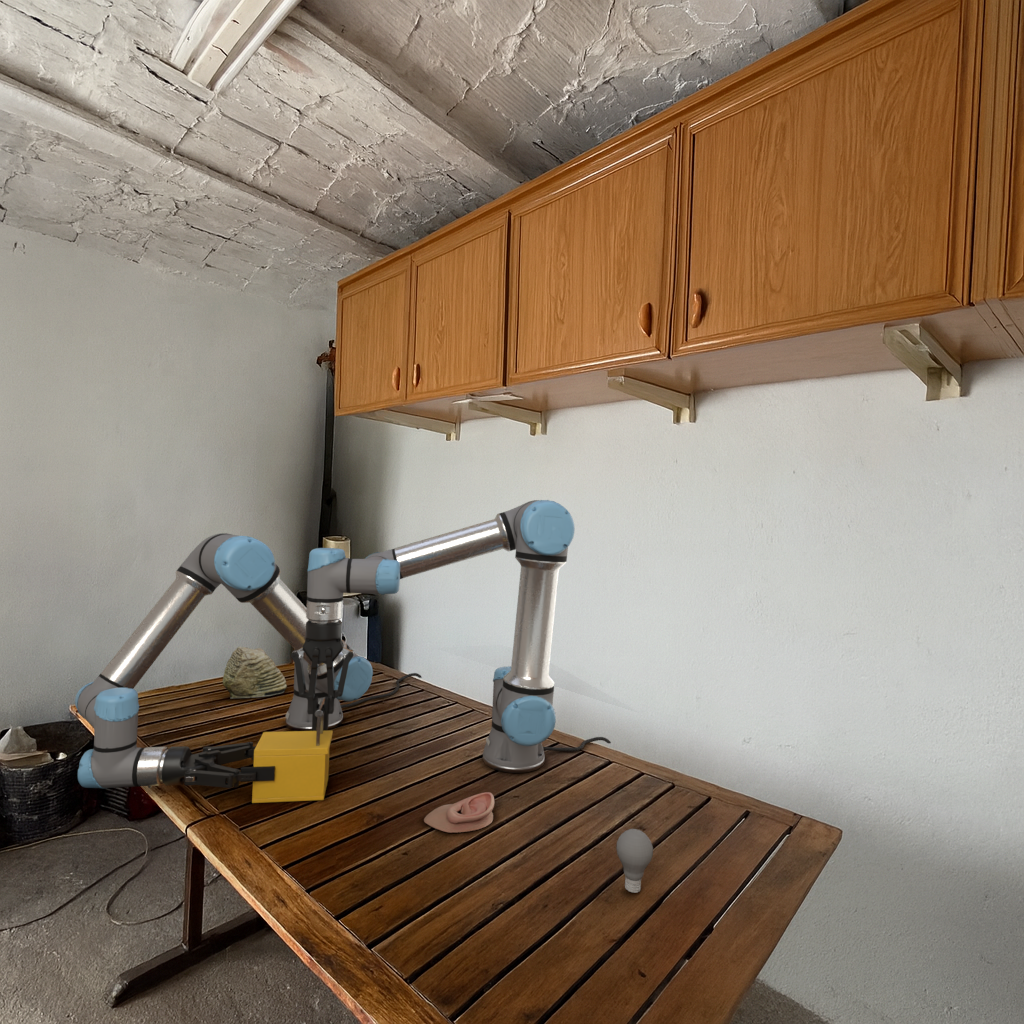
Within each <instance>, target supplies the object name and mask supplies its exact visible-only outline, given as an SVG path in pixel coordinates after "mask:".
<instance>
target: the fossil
mask: <svg viewBox="0 0 1024 1024" xmlns="http://www.w3.org/2000/svg"><path fill="white" fill-rule="evenodd" d="M222 676H223V677H222V685H223V687H224V688H225V690H226V691H228V693H229V698H230V699H250V698H264V697H271V696H275V695H281V694H284V693H285V691H286V689H287V687H288V686H287V680H286V678H285V676H284V674H283V673H282V672H281V669H279V668H278V667H277V665H276V663H275V662H274V660H273V659H272V658H271V657H270V656H269V655H268V654H267V653H266V652H265V650H264V649H263V648H260V647H258V648H251V647H247V646H246V647H245V646H238V647H237V648H236V649H235V650H233V651H232V653H231V656H230V657H229V659H228V660H227V663H226V666H225V668H224V671H223V675H222Z"/></svg>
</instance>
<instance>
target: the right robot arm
mask: <svg viewBox="0 0 1024 1024" xmlns="http://www.w3.org/2000/svg"><path fill="white" fill-rule="evenodd" d="M574 536H575V521H574V519H573V516H572V514H571V513H570V511H569V510H568V509H567V508H566V507H565V506H563V505H562V504H560V503H559V502H556V501H554V500H550V499H538V500H537V499H536V500H535V499H534V500H530V501H527V502H525V503H523V504H521V505H518V506H516V507H514V508H511V509H509V510H508V509H507V510H505V511H503V512H502V511H501V512H500V513H497V514H496V515H495V517H494V518H493V519H491V520H486V521H483V522H480V523H476V524H473V525H469V526H466V527H462V528H459V529H455V530H453V531H449V532H445V533H442V534H439V535H435V536H431V537H428V538H425V539H422V540H418V541H415V542H411V543H408V544H404V545H401V546H397V547H394V548H391V549H387V550H384V551H377V552H373V553H370V554H368V556H366V557H365V558H349V557H346V556H347V555H346V552H345V550H344V549H343V548H337V547H336V548H335V547H316V548H313V549H311V551H310V552H309V555H308V557H309V558H308V567H307V585H306V587H307V589H306V590H307V591H306V608H307V610H306V618H307V619H309V620H308V621H307V622H306V635H305V643H304V644H303V647H302V648H300V649H298V650H295V649H294V650H293V651H292V652H291V654H290V657H291V659H292V661H293V663H294V668H296V675H297V683H298V691H299V696H300V697H304V698H306V699H307V700H308V708H307V712H308V714H313V716H312V731H316V728H317V717H316V716H315V712H316V709H317V706H318V697H314V696H315V689H316V681H317V673H318V665H319V664H320V663H324V664H326V668H327V685H328V697H325V701H324V727H323V731H328V730H327V729H328V718H329V714H333V712H334V699H335V698H336V697H341V696H342V694H343V690H344V685H345V680H346V675H347V670H348V666H349V662H350V660H351V659H352V657H353V655H354V653H355V650H353V649H352V650H349V649H347V648H345V647H344V644H343V642H342V640H343V639H342V638H343V621H342V620H341V619H343V614H344V613H343V612H344V594H366V595H367V594H370V595H382V596H384V595H394V594H397V593H398V592H399V591H400V584H401V583H400V582H401V580H403V579H405V578H409V577H412V576H415V575H419V574H422V573H426V572H429V571H432V570H435V569H439V568H443V567H446V566H450V565H454V564H457V563H460V562H464V561H468V560H470V559H473V558H477V557H480V556H484V555H488V554H492V553H494V552H497V551H500V550H501V551H502V550H505V551H507V552H509V553H510V552H512V551H515V555H514V559H515V560H516V561H517V562H518V564H520V572H519V574H520V575H519V583H518V584H519V585H518V593H517V603H516V604H517V605H516V614H515V623H514V634H513V645H512V655H511V665H510V666H509V665H508V666H501V667H498V668H496V669H495V670H494V673H493V679H492V682H493V686H492V687H493V689H492V707H491V708H492V709H491V729H490V732H489V734H488V736H486V738H485V745H484V748H483V752H482V762H483V763H484V764H485V765H486V766H487V767H489V768H490V769H493V770H495V771H498V772H503V773H510V774H511V773H512V774H522V773H529V772H535V771H537V770H539V769H540V768H542V767H543V766H544V764H545V760H546V759H545V758H546V757H545V756H546V755H545V751H551V752H579V751H581V750H583V749H584V747H585V745H587V744H589V743H593V742H597V741H603V742H604V743H606V744H612V742H611V741H610V740H609V738H606V737H603V736H595V737H592V738H588V739H585V740H583V741H582V742H581V744H580V745H579V746H576V747H555V746H543V742H545V741H546V740H547V739H549V737H551V735H552V734H553V731H554V730H555V727H556V722H557V718H556V717H557V716H556V711H555V708H554V705H553V704H554V694H555V681H554V679H553V678H552V677H551V676H550V665H551V654H552V645H553V644H552V643H553V634H554V625H555V624H554V623H555V613H556V603H557V592H558V584H559V574H560V573H559V572H560V569H561V568H563V567H564V565H566V564H567V560H568V553H569V552H568V551H569V546H570V545H571V543H572V541H573V539H574ZM304 652H305V653H306V655H307V656H308V658H309V659H310V660H311V662H312V665H311V675H310V683H309V691H308V690H306V684H305V676H304V668H303V661H302V658H303V656H304V655H303V653H304ZM341 652H342V653H343V655H342V658H343V659H344V662H343V666H342V671H341V676H340V681H339V686H338V689H337V690H335V687H334V660H335V659H336V658H337V656H338V655H339V654H340V653H341Z"/></svg>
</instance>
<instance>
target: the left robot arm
mask: <svg viewBox="0 0 1024 1024" xmlns="http://www.w3.org/2000/svg"><path fill="white" fill-rule="evenodd" d="M174 573H175V579H174V580H173V582H171V584H170V585H169V586H168V588H167V589H166V591H165V592H164V593H163V594H162V596H161V597H160V598H159V599H158V601H157V602H156V603H155V604H154V606H153V607H151V610H150V611H149V612H148V613H147V614H146V616H145V617H144V618H143V619H142V620H141V622H140V623H139V625H138V626H137V627H136V628H135V630H134V631H133V632H132V633H131V634H130V635H129V637H128V638H127V640H126V641H125V642H124V644H123V645H122V646H121V647H120V649H119V650H118V651H117V652H116V654H115V655H114V656H113V657H112V659H110V661H109V663H108V664H107V665H106V666H105V667H104V668H103V670H102V671H101V672H100V674H99V675H97V677H96V678H95V680H93V681H91V682H88V683H86V684H85V685H83V686H81V687H80V689H79V690H78V691H77V693H76V695H75V697H74V705H75V708H76V710H77V713H79V716H80V717H82V718H83V719H84V720H86V721H87V722H88V723H89V724H90V726H91V727H92V728H93V737H94V738H93V748H90V749H88V750H86V751H84V753H83V755H82V756H81V758H80V760H79V763H78V764H79V765H78V769H77V781H78V783H79V785H80V786H81V787H82V788H86V789H102V790H106V789H117V788H134V787H138V788H140V787H147V788H148V789H152V788H154V787H159V786H162V785H164V786H166V787H168V786H183V785H184V786H203V787H204V786H205V787H213V788H214V787H216V788H223V789H224V788H227V789H231V788H233V789H234V788H238V787H240V783H247V782H248V783H249V782H251V783H253V781H274V778H275V766H263V767H253V766H241V767H240V769H239V768H235V767H234V768H233V767H229V766H225V765H227V764H230V763H235V762H239V761H243V760H244V761H245V760H247V759H251V761H254V750H255V748H256V746H257V745H256V746H254V742H253V741H247V742H241V743H232V744H226V745H225V744H224V745H216V746H204V747H203V748H202V751H201V752H198V753H192V750H191V748H190V747H189V746H187V745H186V746H171V747H168V746H148V747H146V746H145V747H137V746H138V745H137V743H138V727H139V725H138V724H139V711H140V703H139V694H138V691H137V690H136V689H134V688H135V687H136V686H137V685H138V683H139V682H140V681H141V679H143V677H144V676H145V674H146V673H147V672H148V670H149V669H150V668H151V666H152V665H153V664H154V663H155V661H156V660H157V659H158V657H160V655H161V654H162V652H163V651H164V650H165V648H167V646H168V644H169V643H170V642H171V641H172V640H173V638H174V637H175V636H176V634H177V633H178V632H179V630H180V629H181V628H182V626H183V625H184V624H185V623H186V621H187V620H188V618H189V617H190V616H191V615H192V613H193V612H194V611H195V609H196V608H197V607H198V605H199V604H200V603H201V602H202V600H203V599H204V598H205V597H206V596H209V595H212V594H213V593H214V592H215V590H217V588H218V587H219V586H220V585H222V586H223V587H224V588H225V589H226V590H227V591H228V592H229V593H230V594H231V595H232V596H233V597H234V598H235V599H236V600H237V601H238V602H239V603H242V604H246V603H247V604H248V603H249V604H250V605H251V606H252V607H253V608H254V609H255V610H256V611H257V612H258V613H259V614H260V615H261V616H262V617H263V618H264V620H266V621H267V622H268V623H269V625H270V626H271V627H273V628H274V629H275V630H276V632H278V634H279V635H280V636H282V638H283V639H284V640H285V642H287V643H288V644H289V645H290V646H291V647H292V648H293V649H294V650H298V649H300V648H302V647H303V644H304V643H305V635H306V622H307V621H308V620H309V619H307V618H306V610H307V606H305V605H304V603H302V601H301V600H300V599H299V598H298V597H297V596H296V594H295V593H294V592H292V590H291V589H290V588H289V587H288V586H287V584H286V583H285V582H284V581H283V579H281V577H280V576H281V568H280V567H279V565H278V564H276V559H275V556H274V553H273V552H272V550H271V548H270V547H269V545H267V544H266V543H265V542H263V541H261V540H259V539H258V538H254V537H252V536H248V535H237V534H232V533H227V532H226V533H225V532H224V533H223V532H222V533H216V534H213V535H210V536H208V537H206V538H205V539H204V540H203V539H202V540H201V542H200V543H199V544H198V545H196V547H195V548H194V549H193V550H192V551H191V552H190V553H189V554H188V556H187V557H186V558H185V559H184V561H183V562H182V563H181V564H180V565H179V567H178V568H177V570H175V572H174ZM342 642H343V644H344V647H345V648H347V649H349V650H353V649H352V648H351V647H350V645H349V644H348V643H347V642H346V641H345V640H343V639H342ZM303 655H304V656H303V658H302V661H303V668H304V676H305V684H306V690H308V691H309V683H310V675H311V665H312V662H311V660H310V659H309V658H308V656H307V655H306V653H305V652H304V653H303ZM342 655H343V653H342V652H341V653H340V654H339V655H338V656H337V658H336V659H335V660H334V687H335V690H337V689H338V686H339V681H340V676H341V671H342V666H343V662H344V659H343V658H342ZM373 675H374V670H373V666H372V664H371V662H370V661H369V660H368V659H367V658H365V657H364V656H362V655H358V654H357V653H356V652H354V655H353V657H352V659H351V660H350V662H349V666H348V670H347V675H346V680H345V685H344V690H343V694H342V696H341V697H336V698H335V699H334V712H333V714H329V718H328V729H327V731H330V730H332V729H335V728H337V727H339V726H340V725H342V723H343V722H344V714H343V709H345V708H352V707H354V706H357V705H360V704H362V703H365V702H367V701H371V700H377V699H383V698H387V697H390V696H392V695H394V694H396V693H397V692H398V690H399V689H400V686H401V683H400V682H402V681H403V680H405V679H408V678H410V677H417V678H418V679H422V678H423V677H422V675H421V674H419V673H417V672H411V673H408V674H406V675H403V676H402V677H399V678H398V679H397V680H396V681H395V683H396V686H395V688H394V689H393V690H392V691H390V692H387V693H383V694H377V695H371V696H367V697H363V696H364V695H365V694H366V692H368V690H369V688H370V686H371V684H372V681H373ZM292 696H293V697H292V699H291V702H290V704H289V708H288V710H287V711H286V714H285V716H284V718H285V726H286V728H287V729H289V730H291V731H312V716H313V714H308V712H307V708H308V700H307V699H306V698H304V697H300V696H299V691H298V683H297V675H296V668H295V667H294V672H293V695H292ZM314 697H318V703H319V700H320V699H322V698H324V699H325V697H328V685H327V668H326V664H324V663H320V664H319V665H318V673H317V681H316V689H315V696H314ZM361 697H363V698H361ZM340 701H343V702H349V703H346V704H345V703H344V704H341V702H340ZM323 727H324V723H323ZM316 731H317V728H316Z"/></svg>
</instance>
